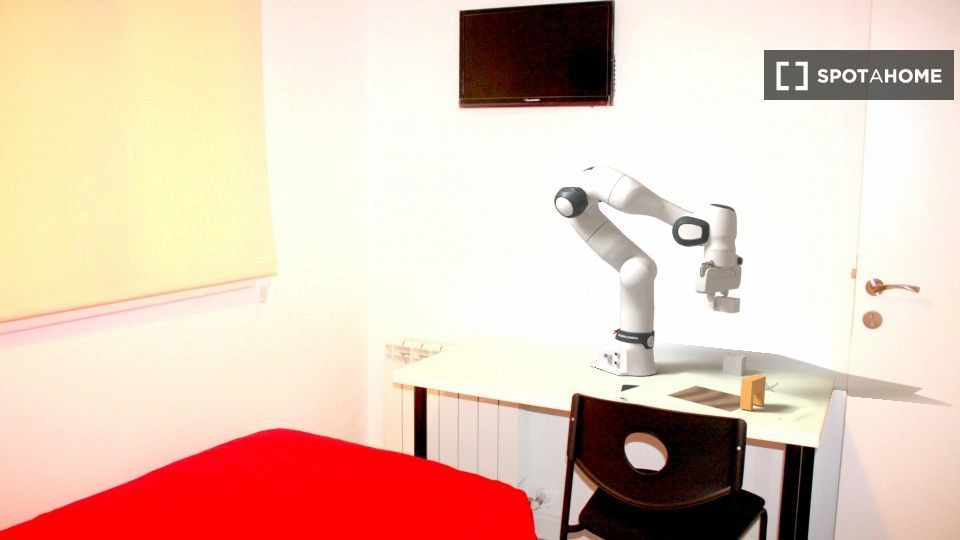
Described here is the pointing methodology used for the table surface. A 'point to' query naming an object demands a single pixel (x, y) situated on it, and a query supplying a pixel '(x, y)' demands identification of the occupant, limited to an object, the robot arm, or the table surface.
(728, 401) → the board
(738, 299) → the long white block
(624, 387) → the phone
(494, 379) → the table surface
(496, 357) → the table surface
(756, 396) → the upright orange block
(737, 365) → the grey block
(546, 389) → the table surface
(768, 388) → the scissors
